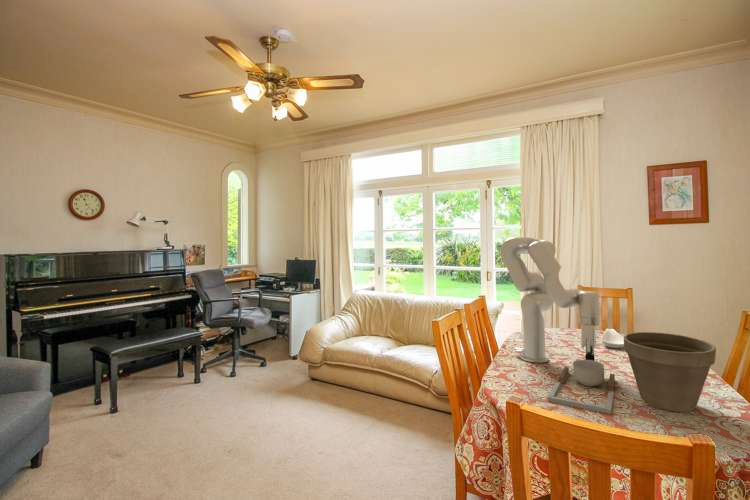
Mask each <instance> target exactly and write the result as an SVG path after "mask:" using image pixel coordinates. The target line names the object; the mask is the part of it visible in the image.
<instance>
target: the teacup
mask: <svg viewBox="0 0 750 500" xmlns="http://www.w3.org/2000/svg"><path fill="white" fill-rule="evenodd" d="M572 371H573V376H574V379H575V380H576V381H577V382H578V383H579V384H581V385H583V386H586V387H597V386H599V385H601V384H602V383H603V382H604V380H605V365H604V363H602V362H600V361H596V360H595V361H593V360H586V359H580V358H576V359H575V360H574V361H572Z"/></svg>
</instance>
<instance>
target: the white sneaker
mask: <svg viewBox="0 0 750 500" xmlns="http://www.w3.org/2000/svg"><path fill="white" fill-rule="evenodd" d="M600 341H601V343H602V344H603V345H604V346H606V347H607V348H611V349H622V348H624V336H622V335H621V334H620V333H618V331H616V330H615V329H614V328H606V329H605V331H604V333H603V334H602V335H601V337H600Z"/></svg>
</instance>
